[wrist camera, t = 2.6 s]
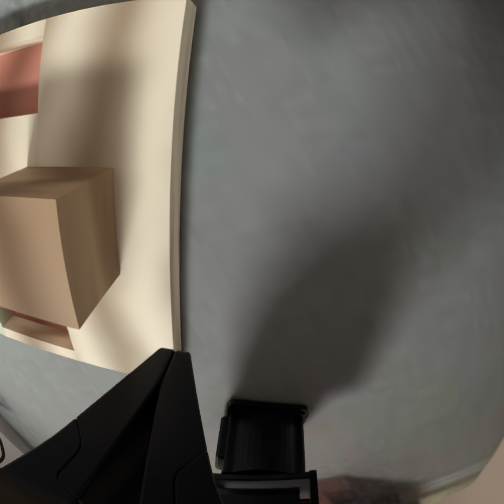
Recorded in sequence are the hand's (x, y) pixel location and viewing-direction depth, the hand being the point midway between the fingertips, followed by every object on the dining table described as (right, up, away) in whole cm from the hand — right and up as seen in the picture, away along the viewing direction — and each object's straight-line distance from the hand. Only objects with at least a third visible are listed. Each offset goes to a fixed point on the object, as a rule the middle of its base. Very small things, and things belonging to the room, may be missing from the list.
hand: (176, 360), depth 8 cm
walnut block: (-8, +5, +7) cm, 12 cm away
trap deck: (-14, +6, +9) cm, 18 cm away
